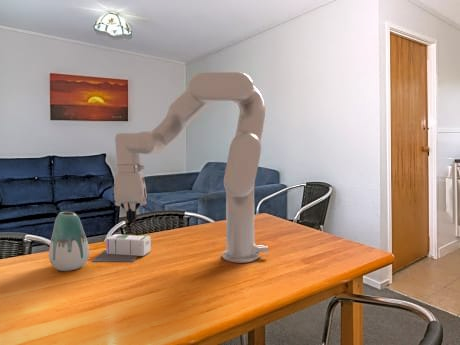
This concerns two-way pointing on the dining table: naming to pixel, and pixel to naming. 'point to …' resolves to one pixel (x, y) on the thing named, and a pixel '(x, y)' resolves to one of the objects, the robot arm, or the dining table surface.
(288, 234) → the dining table surface
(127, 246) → the syrup box
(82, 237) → the vase
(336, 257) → the dining table surface
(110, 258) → the mat
